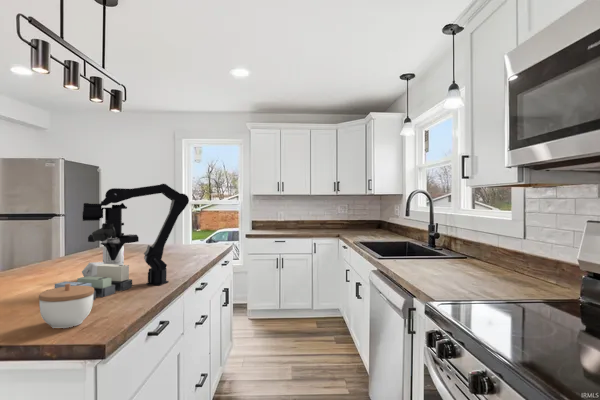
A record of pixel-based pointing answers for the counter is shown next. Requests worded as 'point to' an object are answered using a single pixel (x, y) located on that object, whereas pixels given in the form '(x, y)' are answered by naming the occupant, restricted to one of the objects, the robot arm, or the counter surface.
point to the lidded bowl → (66, 305)
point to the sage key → (96, 281)
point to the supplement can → (117, 261)
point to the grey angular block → (91, 269)
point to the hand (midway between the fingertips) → (113, 260)
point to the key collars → (112, 288)
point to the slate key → (72, 284)
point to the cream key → (113, 272)
